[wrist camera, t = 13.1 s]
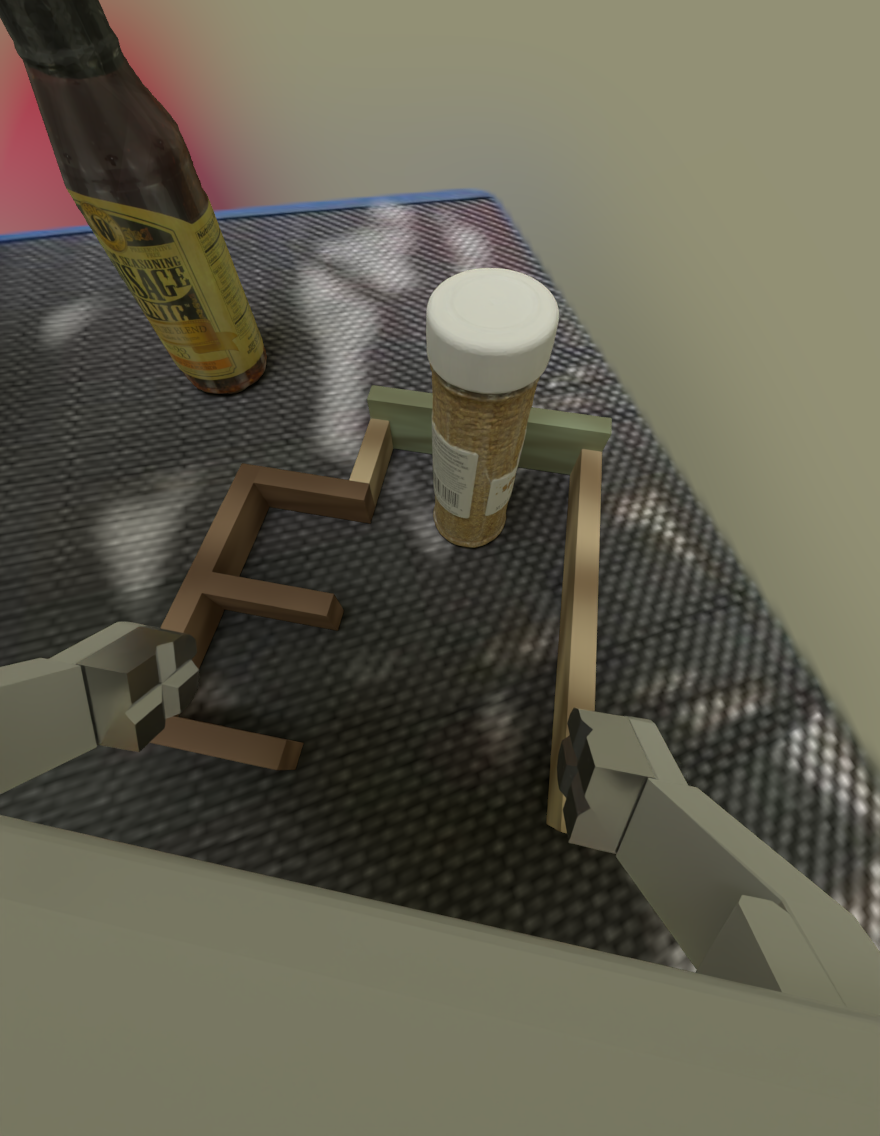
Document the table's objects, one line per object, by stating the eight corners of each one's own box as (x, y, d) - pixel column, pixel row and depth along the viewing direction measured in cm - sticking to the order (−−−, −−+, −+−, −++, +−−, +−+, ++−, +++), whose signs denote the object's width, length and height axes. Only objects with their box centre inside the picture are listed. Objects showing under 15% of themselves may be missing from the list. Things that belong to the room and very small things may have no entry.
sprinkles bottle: (515, 540, 25) (584, 332, 13) (443, 557, 25) (446, 358, 13) (491, 481, 27) (533, 252, 15) (423, 496, 27) (411, 271, 15)
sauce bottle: (170, 385, 31) (-202, -140, 13) (221, 334, 33) (-32, -167, 15) (244, 412, 30) (-51, -124, 12) (291, 357, 32) (105, -155, 14)
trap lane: (572, 829, 19) (604, 844, 15) (144, 736, 21) (81, 731, 17) (589, 463, 28) (611, 418, 24) (290, 419, 30) (269, 371, 26)
